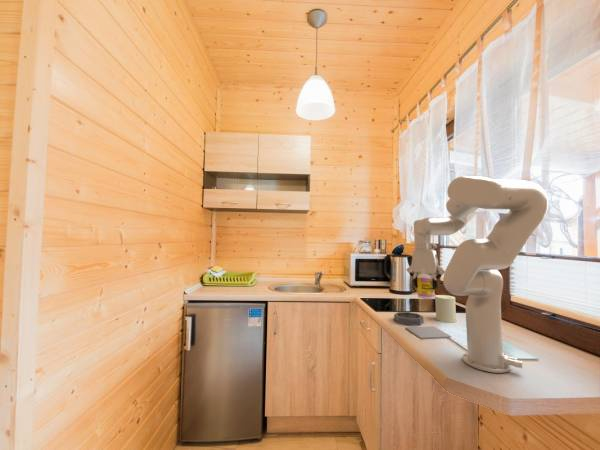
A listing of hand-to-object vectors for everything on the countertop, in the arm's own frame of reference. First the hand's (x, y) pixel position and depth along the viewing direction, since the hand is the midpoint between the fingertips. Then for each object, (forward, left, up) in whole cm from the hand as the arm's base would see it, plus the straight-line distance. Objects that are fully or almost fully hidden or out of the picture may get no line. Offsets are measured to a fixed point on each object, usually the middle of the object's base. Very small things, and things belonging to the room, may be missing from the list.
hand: (425, 288), depth 114 cm
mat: (0, 0, -19) cm, 19 cm away
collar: (+12, -11, -19) cm, 25 cm away
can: (-1, -26, -19) cm, 33 cm away
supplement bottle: (0, 0, -4) cm, 4 cm away
